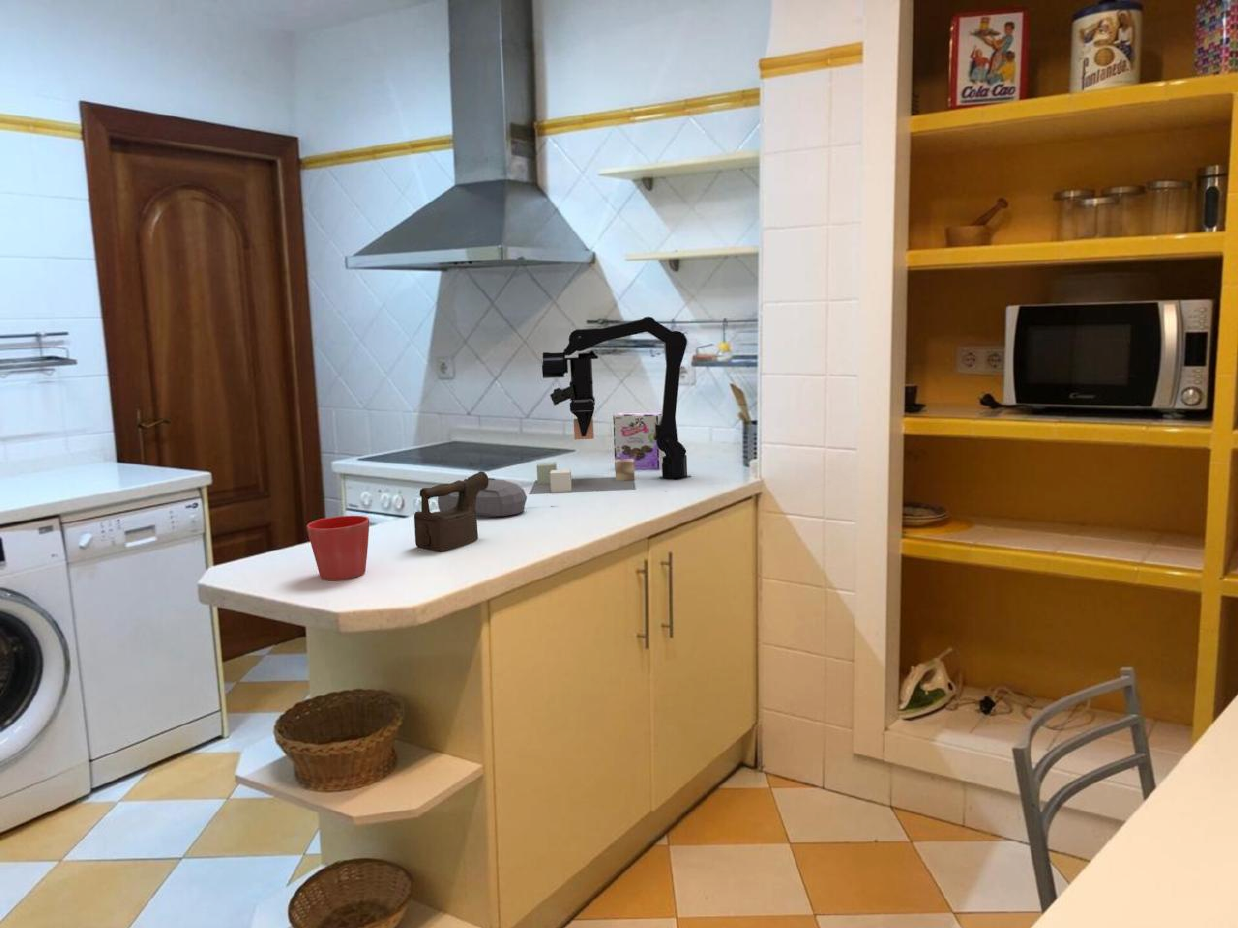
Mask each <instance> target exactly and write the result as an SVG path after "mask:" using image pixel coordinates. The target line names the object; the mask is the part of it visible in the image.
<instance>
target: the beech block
mask: <svg viewBox="0 0 1238 928" xmlns="http://www.w3.org/2000/svg"><path fill="white" fill-rule="evenodd" d="M614 467H615V477H616V481H628V480H634V481H635V477H636V476H635V469H634V459H624V460H615V459H614Z"/></svg>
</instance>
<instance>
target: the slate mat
mask: <svg viewBox="0 0 1238 928" xmlns="http://www.w3.org/2000/svg"><path fill="white" fill-rule="evenodd" d="M571 485H572V489H571V492H555V493H554V494H564V493H565V494H566V493H567V494H568V493H584V492H585V493H588V492H590V493H591V492H611V491H612V492H614V491H635V490H636V489H637V488H636V482H635V480H628V481H616V476H614V477H610V476H609V477H588V478H586V477H585V478H583V477H582V478H571ZM539 494H552V493H551V484H537V479H535V480H534V482H533V485H532V486H531V489H530V491H529V494H528V495H539Z"/></svg>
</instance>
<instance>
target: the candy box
mask: <svg viewBox="0 0 1238 928" xmlns="http://www.w3.org/2000/svg"><path fill="white" fill-rule="evenodd" d="M661 416H662V412H618V413H614V414H613V441H614V443H613V444H614V448H613V449H614V461H615V460H624V459H634V470H643V471H644V470H649V471H652V470H653V471H660V470H662V463H663V458H662V457H664V456H666V455H665V453H664V452H663V451H661V450H660V449H659V448H658V446H657V444H656V440H654V438H653V435H654V433H655V424H654V423H660V420H661Z"/></svg>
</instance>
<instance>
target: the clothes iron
mask: <svg viewBox="0 0 1238 928" xmlns="http://www.w3.org/2000/svg"><path fill="white" fill-rule="evenodd" d="M488 476H489V475H487V473H486V472H485V471H481V470H480V471H478V472H476V473H474V474H472V475H471V476H469V477H468V478H466V479H467V480H466V481H465V482H464V480H456V481H454V482H451V483H441V484H438V485H435V486H432V487H423V488H421V489H420V490H419V496H420V497H421V499H420V500H421V502H420V503H421V504H420V507H421V508H420V509H421V511H415V512H414V514H413V526H414V527H413V528H414V542H415V547H417V548H421V549H425V550H432V551H436V552H440V553H441V552H447V551H452V550H454V549H459V548H461V547H466V546H468V545H470V544H473V543H474V542H476V541H477V540H478V537H479V534H478V533H479V532H478V522H477V520H478V518H476V511H475V502H476V496H477V494H478V492H479V491H480V490H485V489H486V488H487V487H488V482H489V480H488V478H489V477H488ZM453 492H459V497H458V501H457V504H456V506H455V507H454V508H452V509H450V510H445V511H440V510H439V511H434V512H433V511H431V510H430V504H429V499H432V498H436V497H437V498H438V497H439V496H445V495H448V494H450V493H453Z"/></svg>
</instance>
